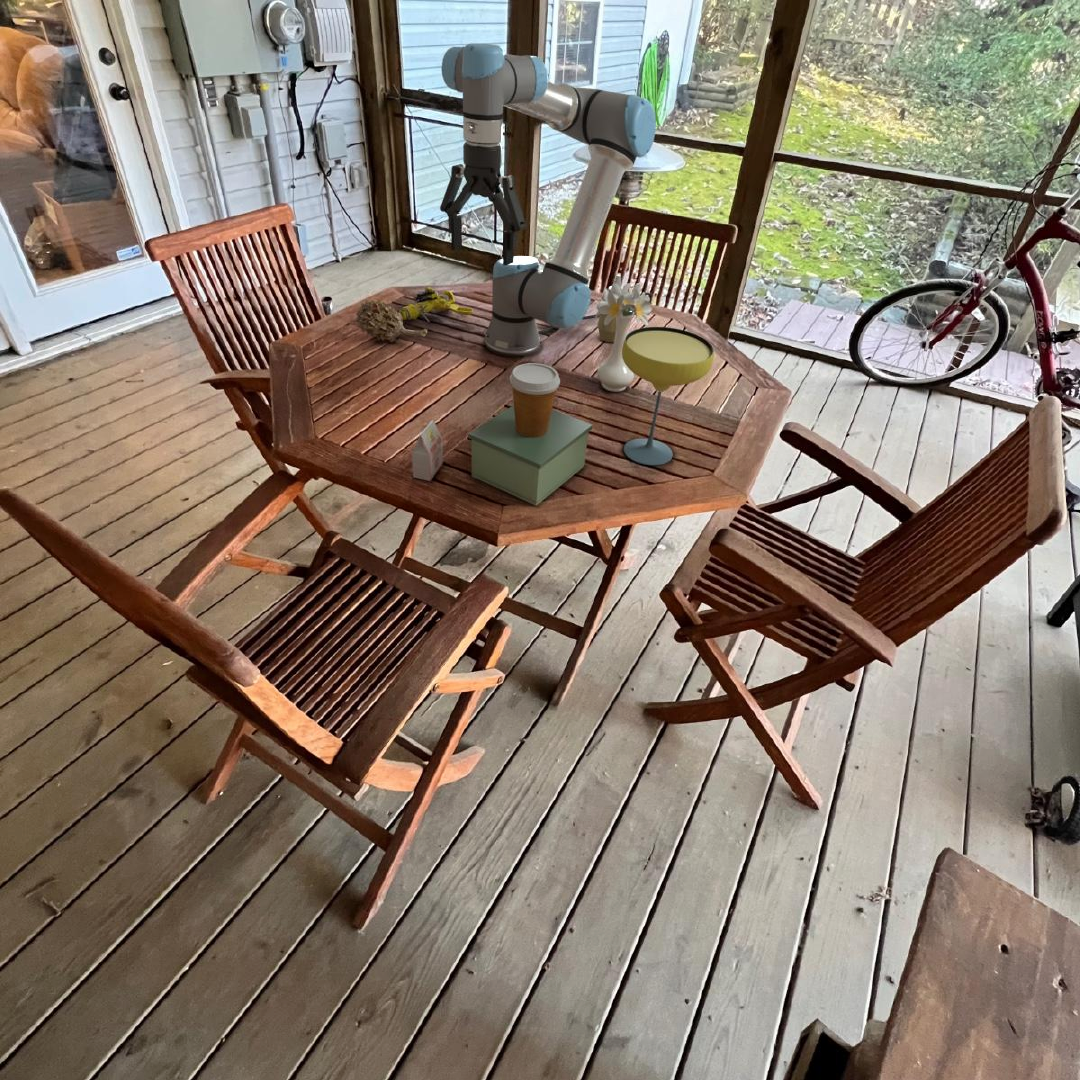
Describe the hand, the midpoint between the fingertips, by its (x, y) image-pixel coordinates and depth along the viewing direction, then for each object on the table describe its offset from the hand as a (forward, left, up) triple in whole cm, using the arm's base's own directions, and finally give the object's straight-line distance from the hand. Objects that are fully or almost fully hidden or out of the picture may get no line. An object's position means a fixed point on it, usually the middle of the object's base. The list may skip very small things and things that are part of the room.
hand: (482, 256), depth 146 cm
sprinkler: (-29, -41, -33) cm, 60 cm away
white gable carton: (+33, +12, -33) cm, 48 cm away
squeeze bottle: (-51, +7, -33) cm, 61 cm away
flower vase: (-26, +22, -33) cm, 47 cm away
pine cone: (-8, -36, -33) cm, 49 cm away
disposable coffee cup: (+20, +28, -23) cm, 41 cm away
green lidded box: (+20, +28, -32) cm, 47 cm away
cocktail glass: (-3, +44, -33) cm, 55 cm away
